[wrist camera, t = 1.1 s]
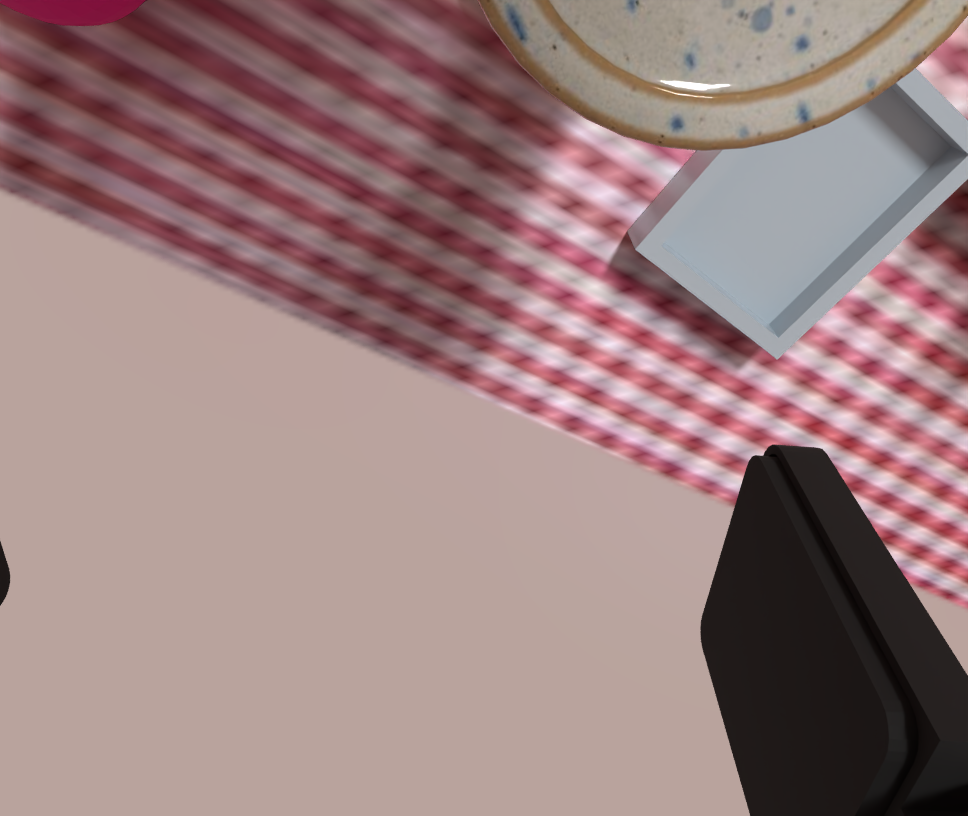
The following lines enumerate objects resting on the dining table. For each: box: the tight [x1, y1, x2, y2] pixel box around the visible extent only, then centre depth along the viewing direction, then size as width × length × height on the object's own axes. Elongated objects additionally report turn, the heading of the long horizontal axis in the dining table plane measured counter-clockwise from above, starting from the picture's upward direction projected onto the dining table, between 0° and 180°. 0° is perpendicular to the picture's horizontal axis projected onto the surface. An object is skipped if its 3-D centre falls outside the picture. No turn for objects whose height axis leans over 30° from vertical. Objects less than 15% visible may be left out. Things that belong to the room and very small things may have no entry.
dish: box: [627, 68, 968, 359], centre depth 35 cm, size 12×9×2 cm
